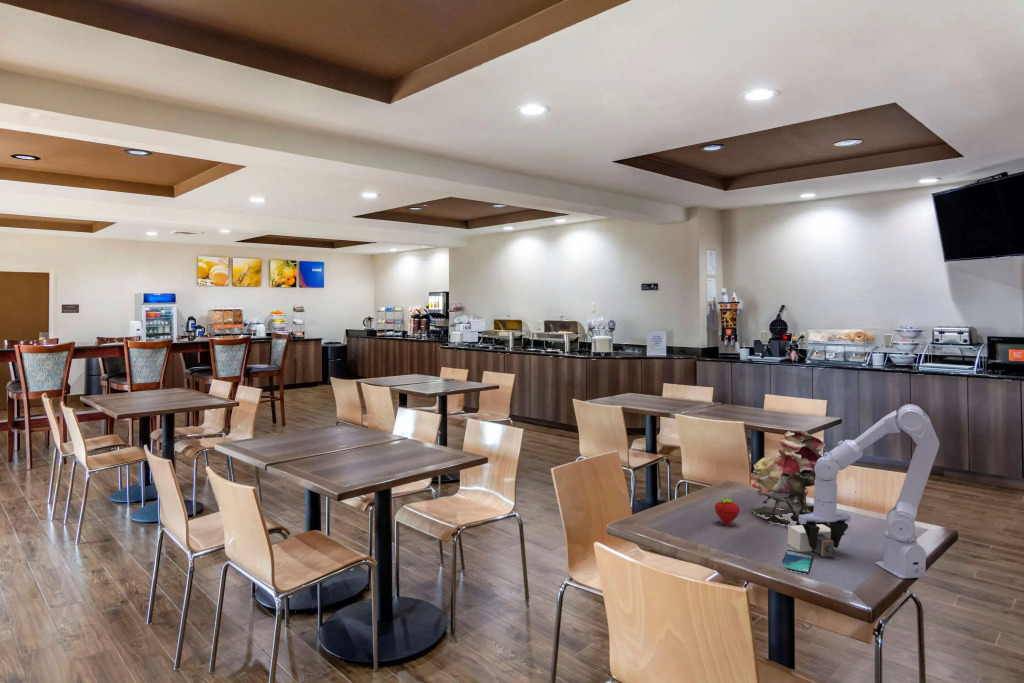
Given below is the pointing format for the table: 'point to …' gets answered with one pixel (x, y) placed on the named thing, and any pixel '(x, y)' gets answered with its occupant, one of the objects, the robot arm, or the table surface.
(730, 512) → the strawberry
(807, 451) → the rose bouquet
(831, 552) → the plug
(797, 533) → the socket block
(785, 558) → the smartphone
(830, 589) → the table surface
